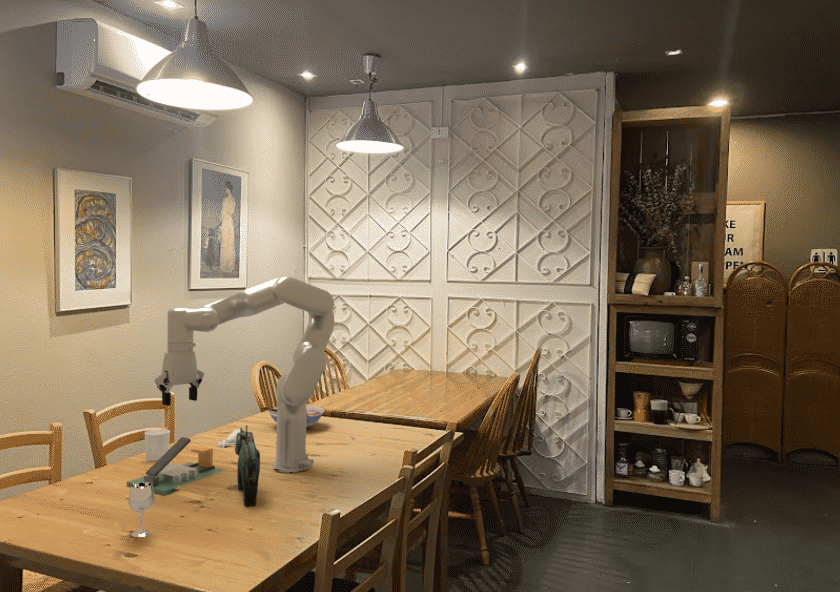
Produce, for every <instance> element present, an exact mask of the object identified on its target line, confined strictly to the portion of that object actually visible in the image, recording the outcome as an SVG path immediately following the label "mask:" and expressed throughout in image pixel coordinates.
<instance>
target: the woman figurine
mask: <svg viewBox="0 0 840 592" xmlns="http://www.w3.org/2000/svg"><path fill="white" fill-rule="evenodd" d="M242 430H243V431H245V432H246V429H243V428H242ZM237 433H240V428H235V429H234V430H233V431H232V432H231V433H230V434H229V435H228V436H227V437H226V439H225V438H223V439H222V440H221V441H219V438H216V439H215V440H216V442H217V444H216V446H215V447H216V448H222V449H224V448H225V447H226V448H228V447H229V446H234V445H235V446H236V437H237Z"/></svg>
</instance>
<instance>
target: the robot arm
mask: <svg viewBox="0 0 840 592" xmlns="http://www.w3.org/2000/svg"><path fill="white" fill-rule="evenodd" d="M283 304H287V305H289V306H292V307H294V308H296V309H299V310H302V311H305V312H307V313H308V322H307V323H308V324H307V325H306V329H305V331H304V333H303V335H302V336H301V339H300V340H299V343H298V345H297V346H296V348H295V350H294V352H293V356H292V361H293V363H294V364H293V366H292V368H291V371H287V372H285V373H283V374H282V375H281V376H280V377H279V378H278V380H277V383H276V390H275V391H276V392H275V393H276V407H277V423H276V447H275V448H276V449H275V450H276V454H275V455H276V456H275V461H273V462H272V463H271V468H273V469H272V470H273V471H274V470H275V471H274V472H277V471H278V473H289V474H292V473H298V472H299V471H300V472H303V470H304V471H307V470H308V469H309V468H312V467H313V465H314V463H315V459H314V458H313V459H312V458H309V453H307V452H306V451H307V450H306V449H307V448H306V447H307V444H306V443H307V441H306V440H307V427H306V406H307V402H309V400H310V399H311V398H312V395H314V392H315V390H316V388H317V386H318V384H319V382H320V379H321V377H322V375H323V373H324V371H325V369H326V366H327V362H328V361H327V354H326V352H325V350H326V348H327V347H328V343H329V341H330V339H331V337H332V334H333V331H334V329H335V328H334V327H335V313H334V310H333V309H334V306H335V299H334V297H333V296H332V294H331V293H330V292H329V291H328V290H324V289H322V288H320V287H317V286H314V285H312V284H309V283H306V282H304V281H302V280H299V279H297V278H295V277H293V276H279V277H277V278H274V279H271V280H268V281H266V282H264V283H263V282H262V283H260V284H258V285H255V286H253V287H249V288H247V289H244V290H242V291H239V292H237V293H235V294H232V295H230V296H227V297H225V298H222V299H220V300H217V301H214V302H211V303H208V304H206V305H203V306H200V307H198V308H195V309H194V308H193V309H192V308H189V307H173V308H170V309H168V312H167V338H166V339H167V340H166V341H167V345H166V346H167V347H166V348H167V352H165V353H164V355H163V359H162V366H161V367H162V368H161V374H160V375H158V376H157V377H155V379H154V382H155V383H154V384H155V385H156V388H157V389H158V390H159V392H161V402H162V403H161V404H162V405H163V406H169V407H170V406H171V404H172V393H171V392H170V390H172V388H173V386H181V385H189V387H188V400H190V401H194V402H196V401H198V388H200V385H201V384H202V381H203V378H204V376H205V372H203V371H201V370H200V369H198V366H197V365H198V364H197V358H196V353H195V352H196V351H194V348H195V347H196V346H197V345H196V343H195V342H194V332H202V333H204V332H205V333H209V332H212V331H214V330H216V329H217V327H218V326H219V325H221V324H224V323H227V322H230V321H232V320H235V319H239V318H245V317H252V316H256V315H258V314H261V313H263V312H266V311H267V310H270V309H273V308H276V307H279V306H282V305H283ZM306 469H307V470H306ZM290 472H292V473H290ZM300 472H299V473H300Z"/></svg>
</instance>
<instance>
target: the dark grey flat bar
mask: <svg viewBox="0 0 840 592" xmlns="http://www.w3.org/2000/svg"><path fill="white" fill-rule="evenodd" d="M191 442H192V440H191V438H188V437H183V436H181V437H180V438H179V439H178V440H177V441H176V442H175V443H174V444H173V445H172V446H171V447H169V450H168V451H167V452H166V453H165V454H164V455H163V456H162V457H161V458H160V459H159V460H158V461H155V463H153V464H152V465H151V467H149V469H148V470H146V472H145V476H146V475H151V476H155V477H156V476H157V475H158V474H159V473H160V472H161V471H162V470H163V469H164V468H165V467H166V466H167V465H168V464H171V462H172V461H173V460H174V459H175V458H176V457H177V456H178V455H179V454H180V453H181V452H182V451H183V450H184V449H185V448H186V447H187V446H188V445H189V444H190V443H191Z"/></svg>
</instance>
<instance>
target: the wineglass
mask: <svg viewBox="0 0 840 592" xmlns="http://www.w3.org/2000/svg"><path fill="white" fill-rule="evenodd" d="M127 500H128V506H129V508H130V509H131V510H132V511H134V512H138V513H139V514H138V517H139V529H138V530H136V531H133V532H132V533H131V534H130V536H131V535H132V536H134V537H133V538H135V537H141V538H145V536H146V537H148V536H150V535H151V534H152V532H151V530H147V529H144V528H143V519H144V512H146V511H147V510H149V509H151V508H152V506H154V502H155V493H154V490H153V486H152V483H150V482H139V483H135V484H133V485H131V487H130V489H129V493H128V499H127ZM132 536H131V537H132Z"/></svg>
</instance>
